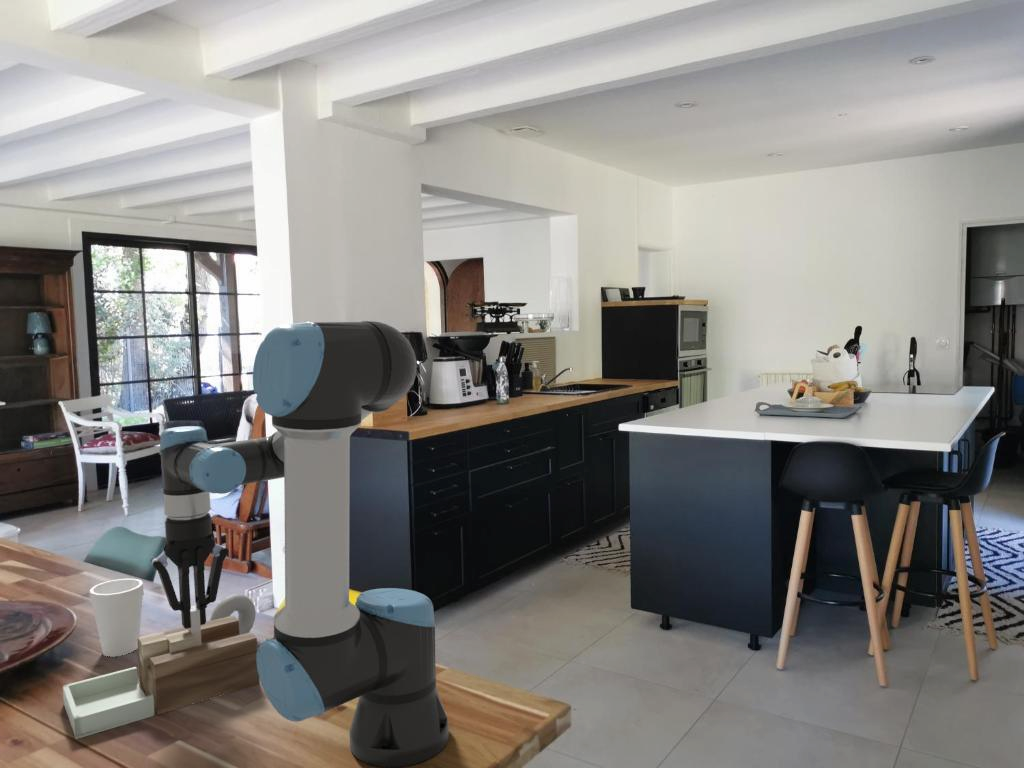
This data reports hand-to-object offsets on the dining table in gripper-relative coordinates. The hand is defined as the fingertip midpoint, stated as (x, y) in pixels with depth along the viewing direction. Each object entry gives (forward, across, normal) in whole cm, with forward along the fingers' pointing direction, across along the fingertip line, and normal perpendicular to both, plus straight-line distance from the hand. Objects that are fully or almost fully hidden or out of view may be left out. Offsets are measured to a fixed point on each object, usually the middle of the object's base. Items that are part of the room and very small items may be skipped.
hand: (195, 643), depth 139 cm
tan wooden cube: (+2, +7, -1) cm, 7 cm away
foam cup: (+8, +8, -25) cm, 27 cm away
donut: (+8, -11, -14) cm, 19 cm away
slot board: (+8, 0, 0) cm, 8 cm away
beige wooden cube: (+2, +3, +1) cm, 3 cm away
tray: (+8, +14, 0) cm, 16 cm away
